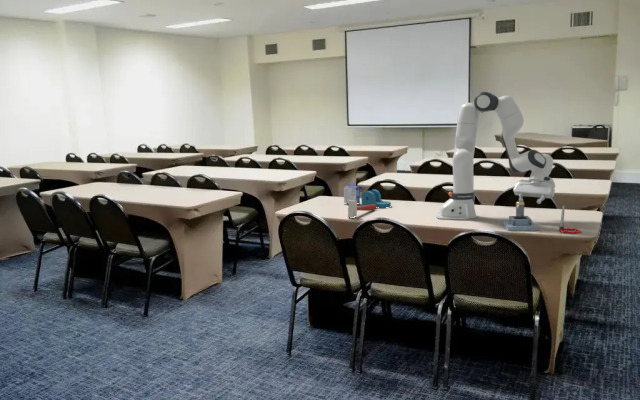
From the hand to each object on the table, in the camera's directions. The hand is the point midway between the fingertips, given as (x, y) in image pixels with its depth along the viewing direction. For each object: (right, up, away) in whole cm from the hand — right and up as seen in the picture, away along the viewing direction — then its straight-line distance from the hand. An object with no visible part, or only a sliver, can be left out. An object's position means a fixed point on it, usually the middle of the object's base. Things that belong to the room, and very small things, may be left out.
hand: (529, 202), depth 268 cm
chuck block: (-7, -13, -6) cm, 16 cm away
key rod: (-7, -11, -7) cm, 15 cm away
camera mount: (-71, -3, +70) cm, 100 cm away
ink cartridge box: (-87, -2, +83) cm, 120 cm away
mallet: (-83, -8, +48) cm, 96 cm away
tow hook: (+12, -14, -20) cm, 27 cm away
